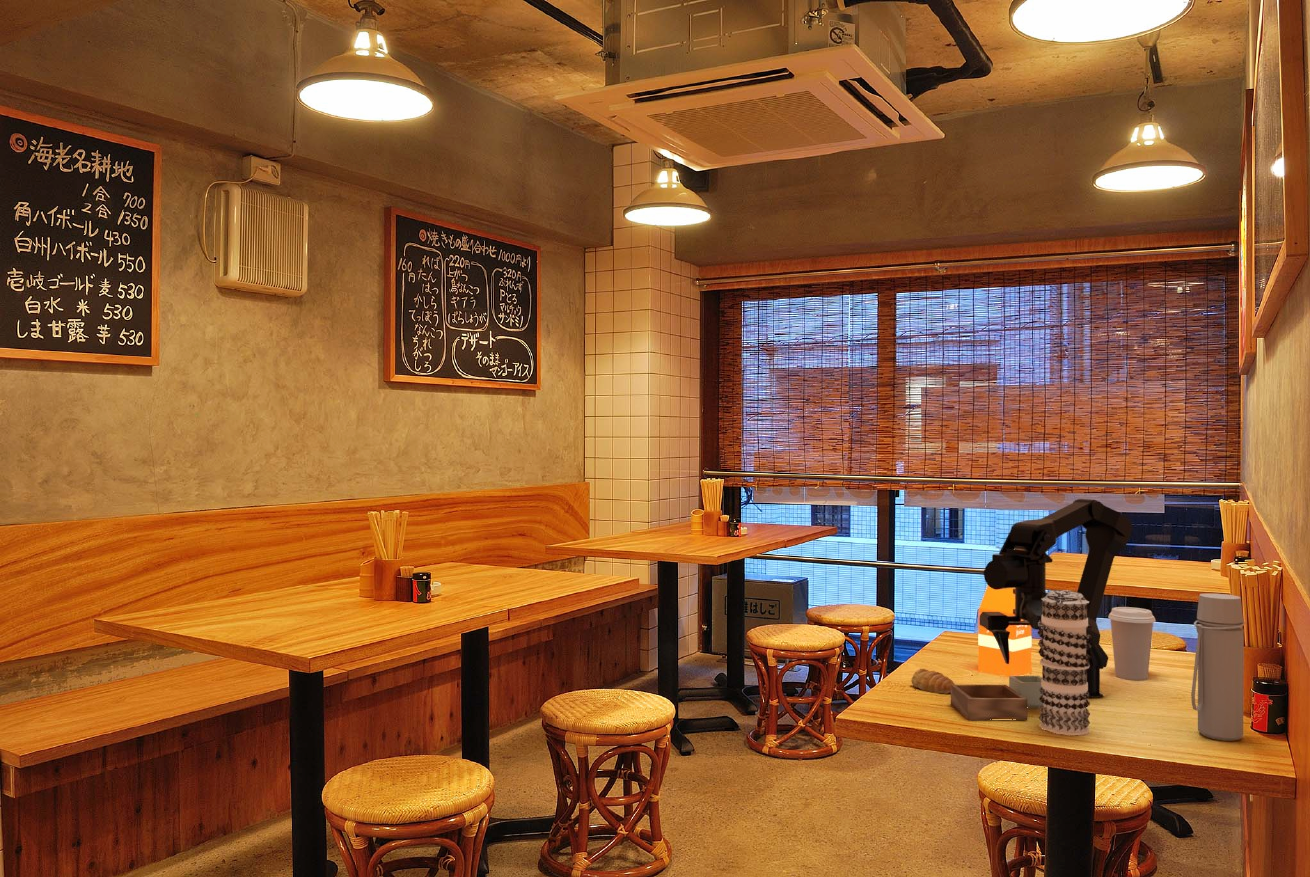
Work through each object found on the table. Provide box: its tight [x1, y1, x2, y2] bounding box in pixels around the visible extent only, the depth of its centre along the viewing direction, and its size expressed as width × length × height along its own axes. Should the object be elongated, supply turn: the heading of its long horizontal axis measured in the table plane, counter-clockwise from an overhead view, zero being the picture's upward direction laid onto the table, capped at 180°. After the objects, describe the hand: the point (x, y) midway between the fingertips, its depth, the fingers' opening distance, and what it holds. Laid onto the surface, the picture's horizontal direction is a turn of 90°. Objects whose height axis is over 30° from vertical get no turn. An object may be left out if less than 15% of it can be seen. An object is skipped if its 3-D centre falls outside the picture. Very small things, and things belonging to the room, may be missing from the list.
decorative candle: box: [1037, 589, 1093, 736], centre depth 177 cm, size 9×9×25 cm
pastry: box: [910, 668, 956, 695], centre depth 205 cm, size 9×7×4 cm
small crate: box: [1008, 675, 1043, 709], centre depth 194 cm, size 6×6×5 cm
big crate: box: [950, 684, 1028, 721], centre depth 188 cm, size 11×11×4 cm
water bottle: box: [1190, 592, 1246, 742], centre depth 173 cm, size 9×8×25 cm
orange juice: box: [977, 585, 1033, 678], centre depth 221 cm, size 8×9×20 cm
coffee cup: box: [1108, 606, 1157, 681], centre depth 217 cm, size 10×10×15 cm
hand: (1030, 663), depth 194 cm, fingers open, 9 cm apart
